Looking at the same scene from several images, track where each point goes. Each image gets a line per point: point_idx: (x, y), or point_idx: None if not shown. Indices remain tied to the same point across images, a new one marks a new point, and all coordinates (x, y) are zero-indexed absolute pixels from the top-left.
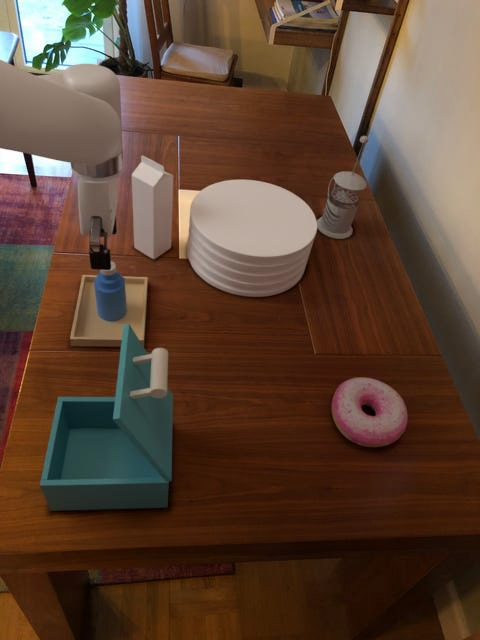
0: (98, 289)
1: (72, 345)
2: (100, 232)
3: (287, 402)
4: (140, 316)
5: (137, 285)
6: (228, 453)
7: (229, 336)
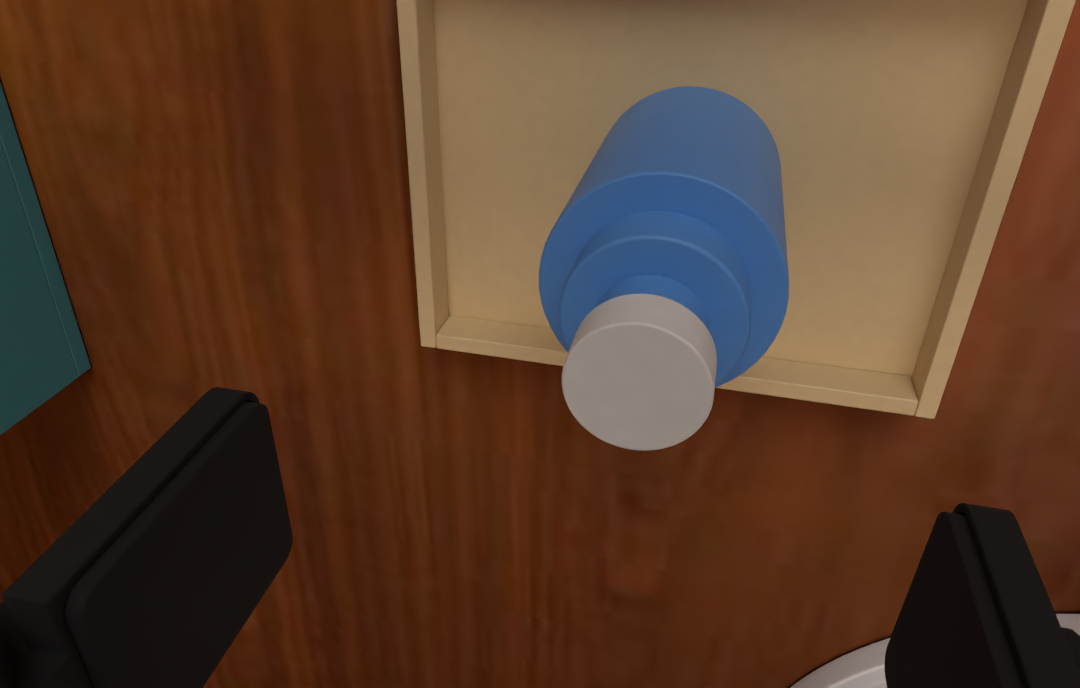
0: (569, 209)
1: None
2: (940, 533)
3: (260, 685)
4: None
5: (907, 335)
6: (58, 507)
7: (518, 628)
